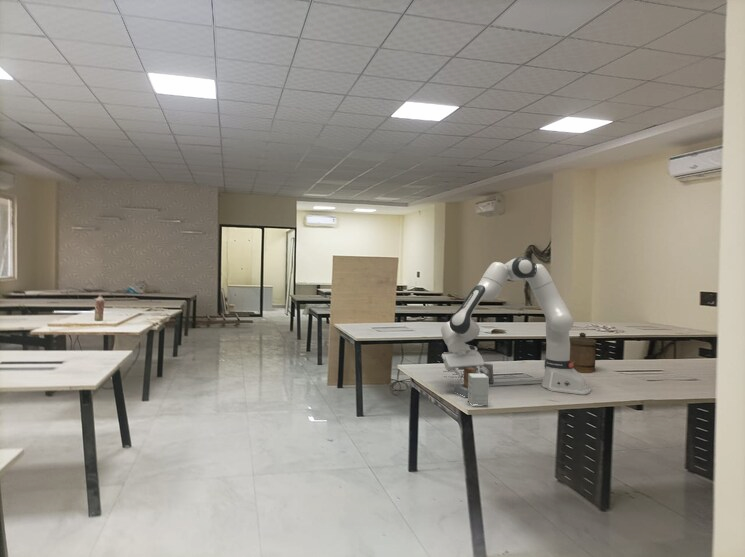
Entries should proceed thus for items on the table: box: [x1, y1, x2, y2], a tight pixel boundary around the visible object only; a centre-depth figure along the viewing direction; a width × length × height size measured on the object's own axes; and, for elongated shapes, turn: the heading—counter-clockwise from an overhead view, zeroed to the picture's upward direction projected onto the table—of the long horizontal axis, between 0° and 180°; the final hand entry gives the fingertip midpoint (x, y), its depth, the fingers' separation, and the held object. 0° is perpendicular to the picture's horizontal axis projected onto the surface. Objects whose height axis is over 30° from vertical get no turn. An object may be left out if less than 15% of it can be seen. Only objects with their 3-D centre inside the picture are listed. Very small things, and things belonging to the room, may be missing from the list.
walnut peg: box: [463, 368, 475, 389], centre depth 222 cm, size 4×4×12 cm
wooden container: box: [569, 332, 597, 374], centre depth 279 cm, size 15×15×22 cm
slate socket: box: [453, 383, 468, 398], centre depth 222 cm, size 10×10×4 cm
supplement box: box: [467, 373, 490, 406], centre depth 207 cm, size 7×7×13 cm
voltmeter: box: [441, 361, 495, 384], centre depth 245 cm, size 27×11×10 cm, turn 88°
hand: (470, 376), depth 221 cm, fingers open, 8 cm apart
